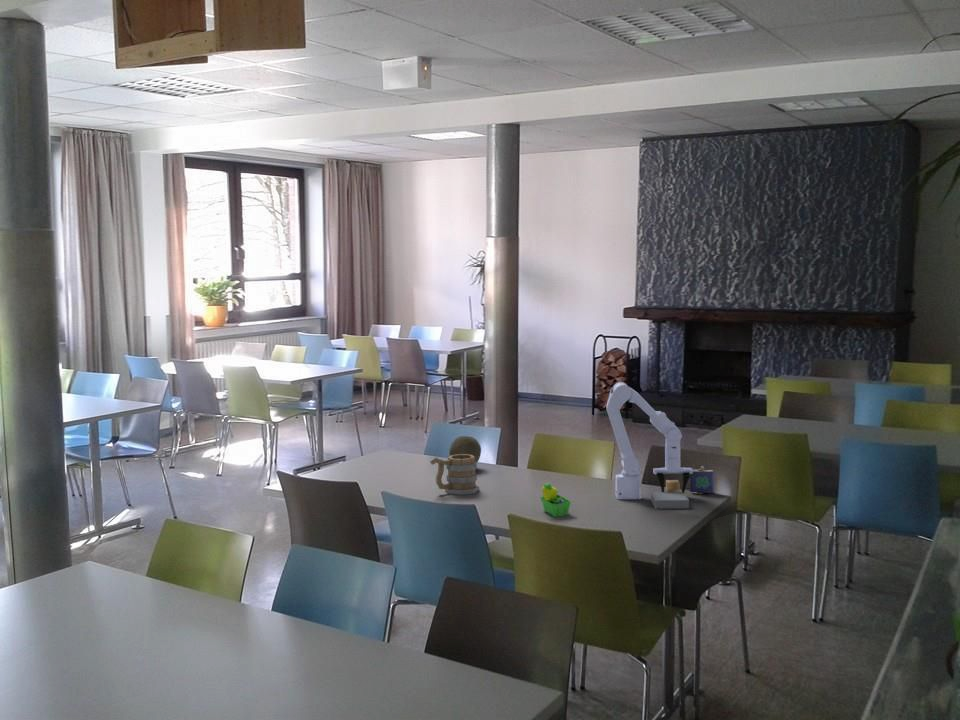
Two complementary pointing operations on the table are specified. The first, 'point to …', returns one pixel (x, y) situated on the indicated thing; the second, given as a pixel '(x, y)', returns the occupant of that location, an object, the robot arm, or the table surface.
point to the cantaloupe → (466, 447)
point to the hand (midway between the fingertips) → (672, 492)
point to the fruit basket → (554, 501)
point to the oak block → (672, 486)
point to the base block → (669, 500)
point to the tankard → (457, 474)
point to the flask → (702, 481)
